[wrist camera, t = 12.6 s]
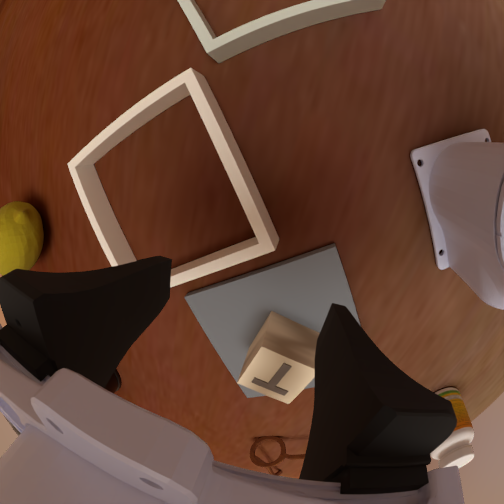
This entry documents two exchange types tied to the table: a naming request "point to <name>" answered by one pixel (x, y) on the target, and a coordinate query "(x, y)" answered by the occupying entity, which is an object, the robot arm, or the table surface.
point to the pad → (270, 303)
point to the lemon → (19, 236)
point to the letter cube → (280, 359)
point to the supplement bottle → (456, 434)
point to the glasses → (276, 462)
